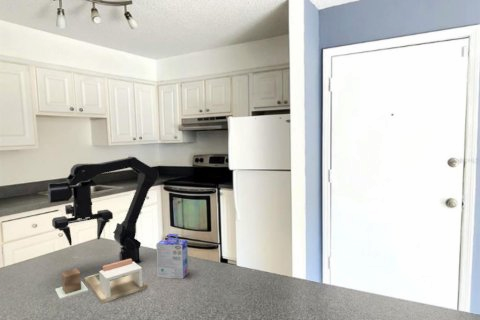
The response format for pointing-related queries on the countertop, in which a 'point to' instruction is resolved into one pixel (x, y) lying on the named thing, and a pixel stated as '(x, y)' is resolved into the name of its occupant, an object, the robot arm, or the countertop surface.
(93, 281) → the puzzle board
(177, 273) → the ink cartridge box
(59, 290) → the coaster pad
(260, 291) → the countertop surface
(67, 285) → the walnut block
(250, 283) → the countertop surface
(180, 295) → the countertop surface
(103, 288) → the panel
